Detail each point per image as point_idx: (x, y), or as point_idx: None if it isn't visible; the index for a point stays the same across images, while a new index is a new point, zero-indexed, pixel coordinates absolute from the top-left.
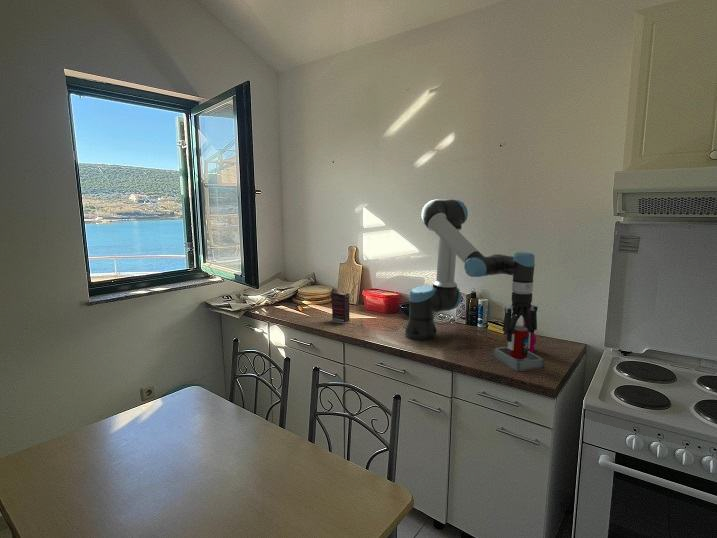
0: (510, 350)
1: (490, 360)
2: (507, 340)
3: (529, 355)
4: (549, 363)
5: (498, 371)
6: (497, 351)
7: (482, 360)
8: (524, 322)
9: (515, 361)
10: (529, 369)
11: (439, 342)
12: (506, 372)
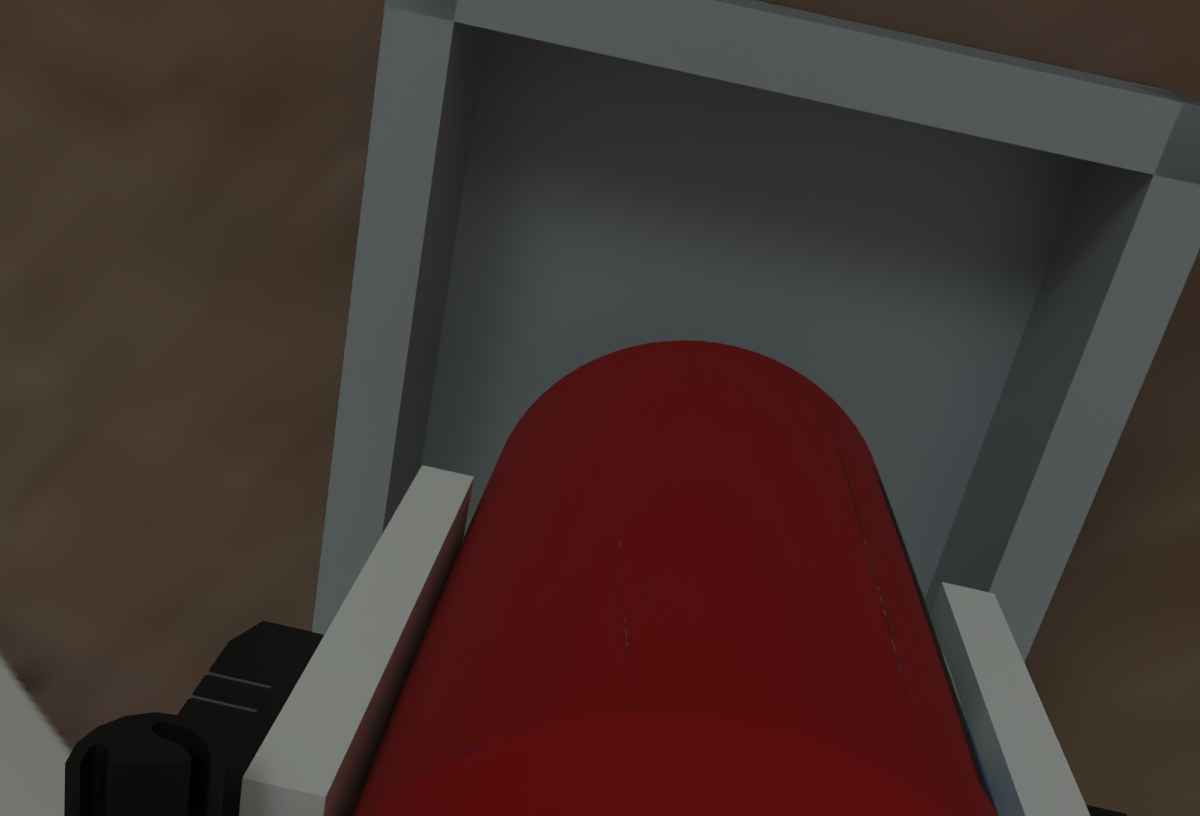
0: (481, 497)
1: (223, 110)
2: (249, 651)
3: (964, 586)
4: (1171, 759)
5: (45, 558)
6: (376, 133)
7: (54, 22)
8: None
9: None
10: None
11: None
12: (149, 644)
